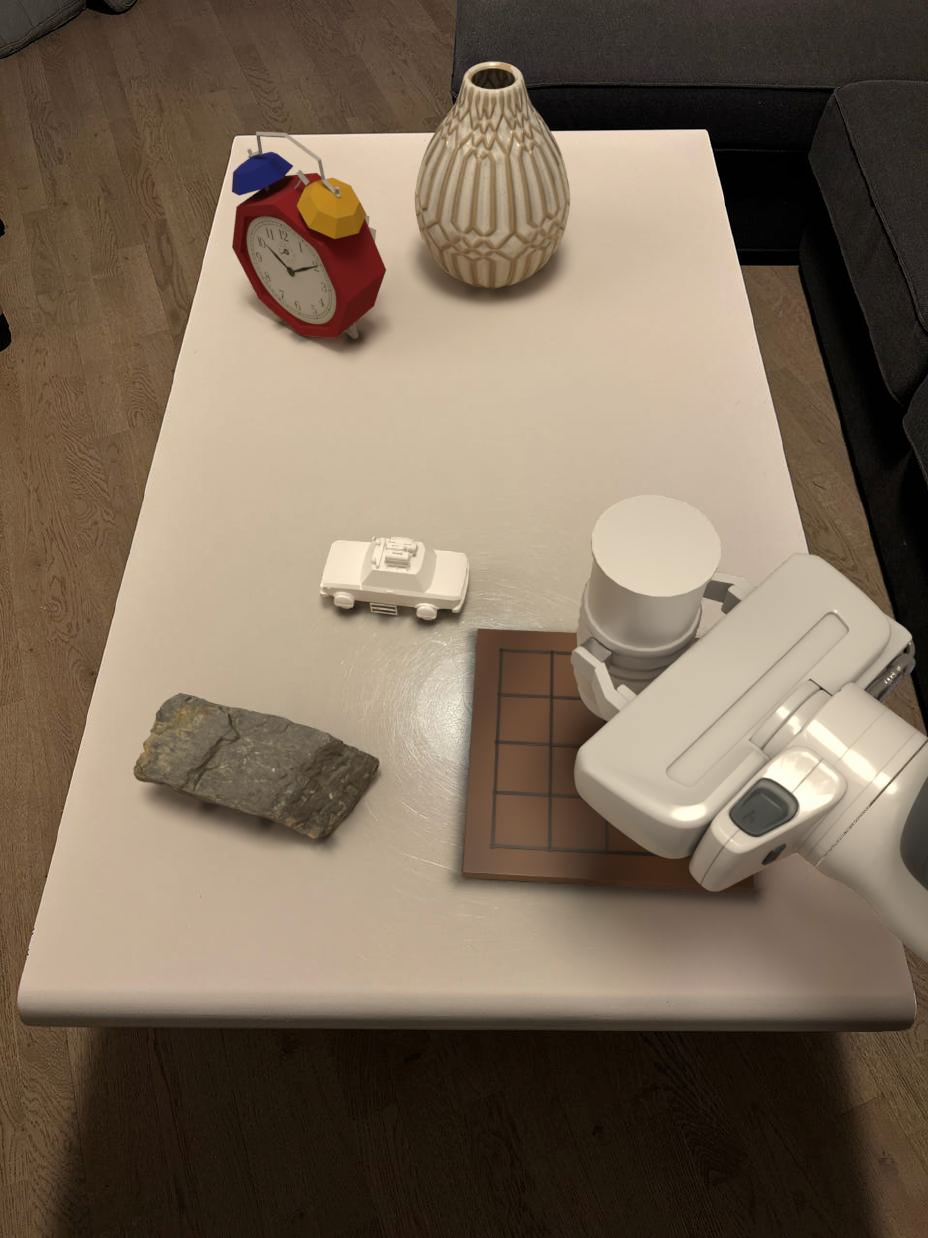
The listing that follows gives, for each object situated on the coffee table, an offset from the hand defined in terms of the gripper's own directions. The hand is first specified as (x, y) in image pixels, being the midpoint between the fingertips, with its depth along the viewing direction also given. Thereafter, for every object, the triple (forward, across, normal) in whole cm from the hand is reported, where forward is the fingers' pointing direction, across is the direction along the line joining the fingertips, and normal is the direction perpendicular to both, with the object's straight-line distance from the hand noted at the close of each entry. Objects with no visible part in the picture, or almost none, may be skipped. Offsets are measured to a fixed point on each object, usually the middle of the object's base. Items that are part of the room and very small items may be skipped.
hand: (626, 608), depth 55 cm
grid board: (-1, 0, +19) cm, 19 cm away
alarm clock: (+53, -16, +19) cm, 59 cm away
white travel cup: (-1, 0, +8) cm, 8 cm away
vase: (+47, -34, +19) cm, 61 cm away
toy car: (+21, +2, +19) cm, 28 cm away
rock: (+15, +20, +19) cm, 31 cm away
